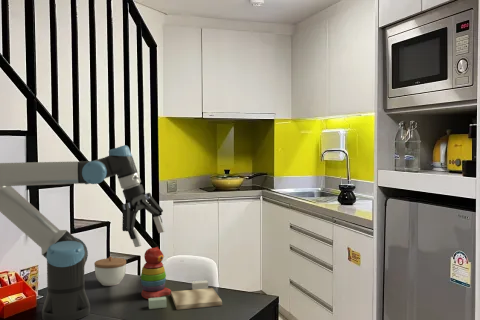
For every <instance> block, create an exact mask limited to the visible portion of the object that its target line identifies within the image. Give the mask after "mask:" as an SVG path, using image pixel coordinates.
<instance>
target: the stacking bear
mask: <svg viewBox="0 0 480 320" xmlns="http://www.w3.org/2000/svg"><path fill="white" fill-rule="evenodd" d="M143 257H144V261H145V263H144V265H143V266H142V269H141V274H140V283H141V287H142V291H141V297H142V298H144V299H146V300H148V298H157V297H166V296H171V292H172V290H171V289H170V288H168V287H165V286H166V281H167V274H166V270H165V266H164V263H163V262H162V261H163V259H164V253H163V251H162V250H161V249H160V248H159V246H155V247H151V248H148V249H146V251H145V252H144V256H143Z"/></svg>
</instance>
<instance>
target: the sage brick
mask: <svg viewBox="0 0 480 320" xmlns="http://www.w3.org/2000/svg"><path fill="white" fill-rule="evenodd" d="M147 300H148V309H149V310H154V309H161V308H162V309H163V308H164V309H165V308H167V305H168V303H167V302H168V301H167V297H166V296H161V297H157V298H148V299H147Z"/></svg>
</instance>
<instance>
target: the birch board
mask: <svg viewBox="0 0 480 320" xmlns="http://www.w3.org/2000/svg"><path fill="white" fill-rule="evenodd" d="M170 296H171V299H172V302H173V304H174V306H175V307H174V308H175V310H177V311H178V310H179V311H180V310H188V309H190V310H191V309H198V308H208V307H219V306H220V307H221V306H223V301H222V298H220V296H219V295H218V293H217V292H216V291H215V289H214V288H213V287H211V288H210V287H208V288H207V289H195V290H192V289H186V290H184V289H183V290H175V291H174V290H173V291H172V290H171V294H170Z"/></svg>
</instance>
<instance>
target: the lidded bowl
mask: <svg viewBox="0 0 480 320" xmlns="http://www.w3.org/2000/svg"><path fill="white" fill-rule="evenodd" d="M126 269H127V260H126V259H125V258H122V257H113V256H108V257H107V258H101V259H98V260H96V261H95V262H94V272H95V277H96V279H97V281H98V282H99V283H100V284H101V285H102V286H105V287H110V286H111V287H112V286H117V285H120V283H121V281H122V280H123V279H124V278H125V275H126Z"/></svg>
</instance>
